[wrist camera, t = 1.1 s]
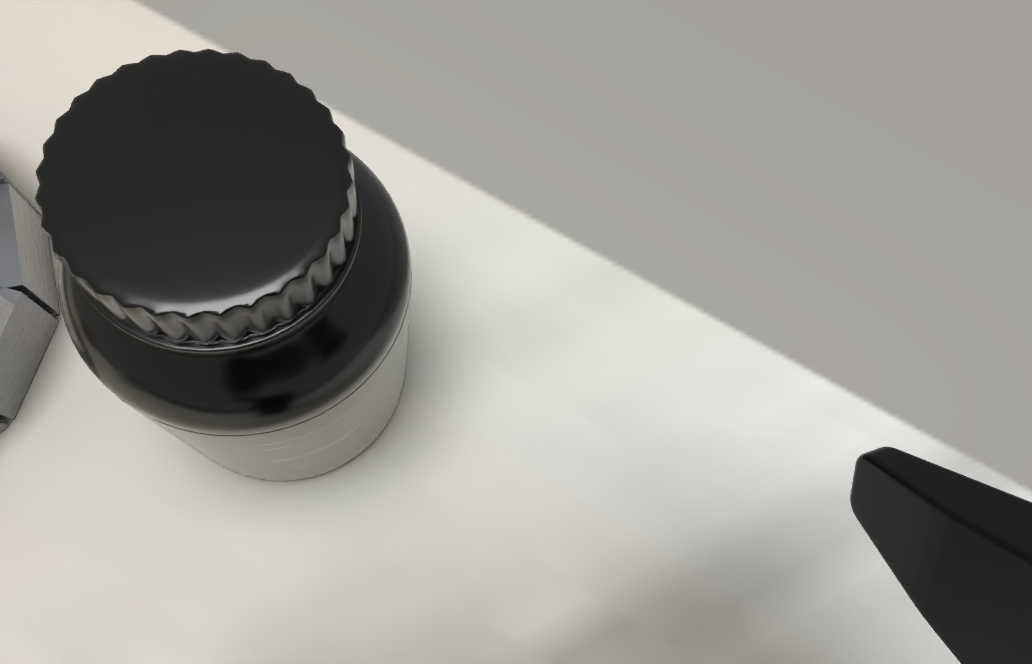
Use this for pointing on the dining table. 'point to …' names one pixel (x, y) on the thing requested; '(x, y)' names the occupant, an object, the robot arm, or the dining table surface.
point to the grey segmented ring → (22, 297)
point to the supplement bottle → (229, 262)
